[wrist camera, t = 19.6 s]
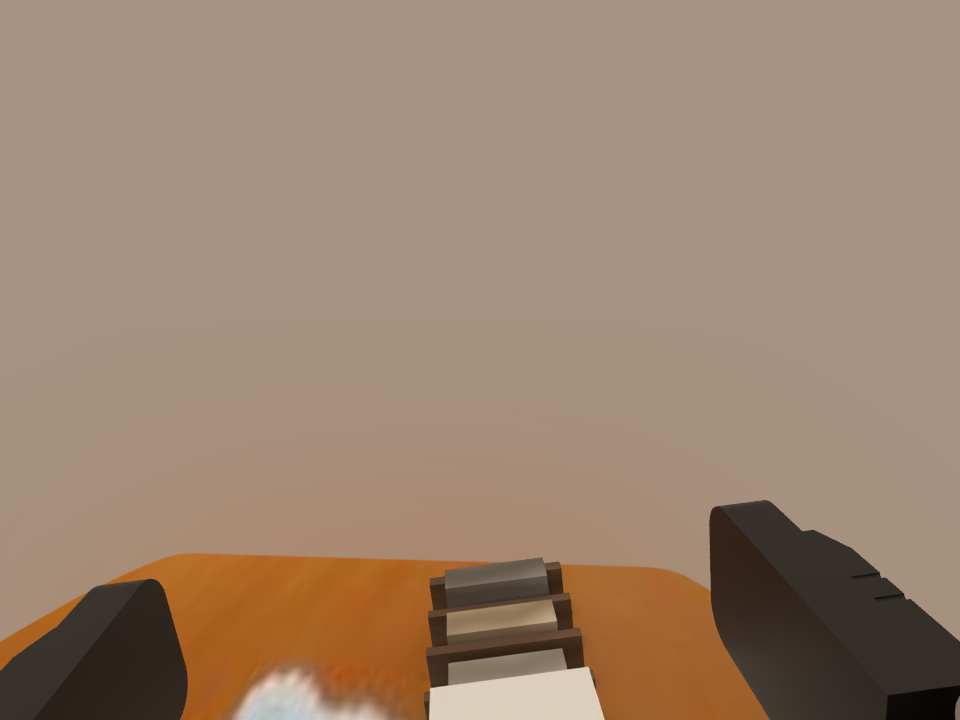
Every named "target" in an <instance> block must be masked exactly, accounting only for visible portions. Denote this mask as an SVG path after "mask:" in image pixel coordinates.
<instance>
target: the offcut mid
mask: <svg viewBox="0 0 960 720" xmlns="http://www.w3.org/2000/svg"><path fill="white" fill-rule="evenodd" d="M552 631H558V625H557V619H556V615H555V611H554V607H553V603H552V599H550V600H542V601H535V602H527V603H520V604H512V605H505V606H497V607H489V608H482V609H474V610H467V611H459V612H451V613H447V641H448V645H454V644H461V643H469V642H476V641H484V640H491V639H499V638H506V637H514V636H521V635H529V634H536V633H544V632H552Z"/></svg>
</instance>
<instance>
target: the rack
mask: <svg viewBox="0 0 960 720" xmlns="http://www.w3.org/2000/svg"><path fill="white" fill-rule="evenodd" d="M544 566H545V570H546V573H547V580H548V590H549V595H547V596H540V597H532V598H525V599H517V600H509V601H502V602H494V603H487V604H479V605H471V606H464V607H456V608H449V609H448V604H447V598H446V591H445V577H437V578H430V590H431V597H432V603H433V611H429V612H428V620H429V626H430V632H431V639H432V645H433V647H431V648H427V653H426V657H427V663H428V669H429V675H430V682H431V688H435V687H443V686H448V663H455V662H462V661H470V660H477V659H485V658H492V657H500V656H507V655H515V654H522V653H530V652H537V651H545V650H552V649H560V648H562V650H563V654H564V658H565V662H566V666H567V670H569V669H576V668H583V667H584V657H583V645H582V635H581V632H580V628H574V629H573V621H572V610H571V599H570V596H569V593H563V583H562V572H561V566H560V563H559V562H552V563H544ZM550 599H552V603H553V607H554V611H555V615H556V619H557V625H558V631H552V632H544V633H536V634H529V635H521V636H514V637H506V638H499V639H491V640H484V641H476V642H469V643H461V644H454V645H448V641H447V613H451V612H459V611H467V610H474V609H482V608H489V607H497V606H505V605H512V604H520V603H527V602H535V601H542V600H550ZM590 674H591V677H592V680H593V684H594V687H595V690H596V685H595V677H594V674H593V671H592V670H590ZM424 704H425V710H426V716H427V720H429V710H430V692H425V694H424Z"/></svg>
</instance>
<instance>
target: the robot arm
mask: <svg viewBox="0 0 960 720" xmlns="http://www.w3.org/2000/svg"><path fill="white" fill-rule="evenodd" d="M709 527H710V573H711V603H712V610H713V615H714V620H715V623H716V627H717V630H718V633H719V635H720V638H721V640H722V642H723V644H724V646H725V648H726V649H727V651H728V652H729V654H730V656H731V657H732V659H733V661H734V662H735V664H736V665H737V667H738V669H739V670H740V672H741V673H742V675H743V677H744V678H745V680H746V681H747V683H748V685H749V686H750V688H751V689H752V691H753V693H754V694H755V696H756V698H757V699H758V701H759V702H760V704H761V706H762V707H763V709H764V710H765V712H766V714H767V715H768V717H769V718H770V720H960V641H958V640H957V639H956V638H955V637H954V636H953V635H952V634H950V633H949V632H948V631H947V630H946V629H945V628H943V627H942V626H941V625H940V624H939V623H938V622H936V621H935V620H934V619H933V618H932V617H931V616H929V615H928V614H927V613H926V612H925V611H924V610H923V609H921V608H920V607H919V606H918V605H917V604H915V603H914V602H913V601H912V600H911V599H908V600H906V598H905V596H904V593H903V592H902V591H900V590H899V589H898V588H897V587H896V586H895V585H894V584H892V583H891V582H890V581H889V580H888V579H887V578H881V576H880V572H878V571H877V570H876V569H875V568H874V567H873V566H871V565H870V564H869V563H868V562H867V561H866V560H865V559H863V558H862V557H861V556H860V555H859V554H858V553H856V552H855V551H854V550H853V549H852V548H850V547H848V546H845V545H844V544H841V543H840V542H838V541H836V540H833V539H831V538H829V537H827V536H825V535H823V534H821V533H819V532H817V531H815V530H809V531H801V530H800V529H799V528H798V527H797V526H796V525H795V524H794V523H793V522H792V521H791V520H790V519H789V518H787V517H786V516H785V515H784V514H783V513H782V512H781V511H780V510H779V509H778V508H777V507H776V506H775V505H774V504H772V503H771V502H769V501H767V500H763V501H755V502H748V503H739V504H732V505H724V506H716V507H714V508H713V509H712V511H711V515H710V523H709ZM187 687H188V678H187V670H186V665H185V662H184V658H183V655H182V651H181V648H180V644H179V640H178V637H177V633H176V630H175V626H174V623H173V619H172V616H171V612H170V609H169V605H168V601H167V598H166V595H165V592H164V589H163V587H162V586H161V584H160V583H159V582H158V581H157V580H154V579H146V580H138V581H131V582H123V583H115V584H107V585H100V586H97V587H95V588H93V589H92V590H90V591H89V592H88V593H87V594H86V596H85V597H84V598H83V599H82V600H81V601H80V602H79V603H78V604H77V605H76V607H75V608H74V609H73V610H72V611H71V612H70V613H69V614H68V615H67V616H66V617H65V619H64V620H63V621H62V622H61V623H60V624H59V625H58V626H57V627H56V628H54V629H53V630H51V631H50V632H48V633H47V634H46V635H44V636H43V637H41V638H40V639H39V640H37V641H36V642H34V643H33V644H32V645H30V646H29V647H27V648H26V649H25V650H23V651H22V652H20V653H19V654H17V655H16V656H15V657H13V658H12V659H11V660H10V662H9V663H8V664H7V665H6V666H5V667H4V668H3V669H2V670H1V671H0V720H180V718H181V716H182V713H183V710H184V707H185V703H186V697H187Z"/></svg>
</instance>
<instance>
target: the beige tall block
mask: <svg viewBox="0 0 960 720" xmlns="http://www.w3.org/2000/svg"><path fill="white" fill-rule="evenodd" d="M429 720H604V717H603V713H602V710H601V707H600V703H599V700H598V697H597V693H596V690H595V687H594V684H593V680H592V677H591V674H590V670H589V667H583V668H576V669H569V670H561V671H554V672H546V673H539V674H532V675H524V676H517V677H509V678H502V679H495V680H487V681H480V682H472V683H465V684H458V685H450V686H443V687H435V688H430V710H429Z"/></svg>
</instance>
